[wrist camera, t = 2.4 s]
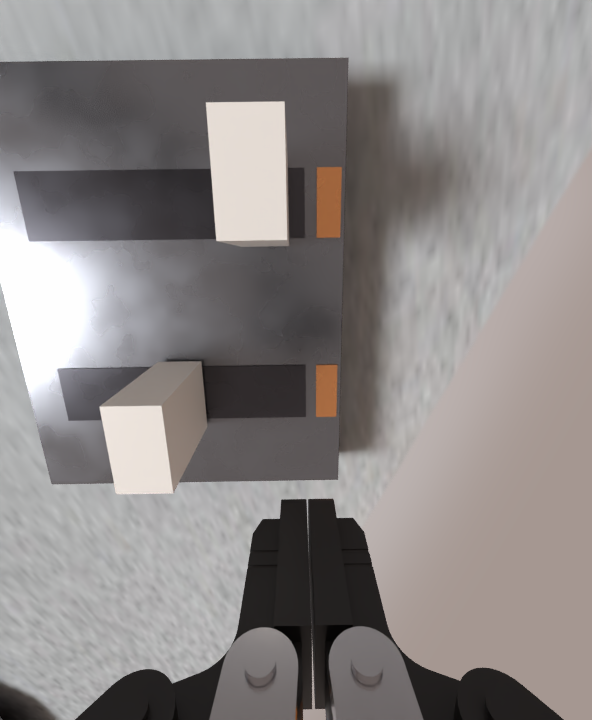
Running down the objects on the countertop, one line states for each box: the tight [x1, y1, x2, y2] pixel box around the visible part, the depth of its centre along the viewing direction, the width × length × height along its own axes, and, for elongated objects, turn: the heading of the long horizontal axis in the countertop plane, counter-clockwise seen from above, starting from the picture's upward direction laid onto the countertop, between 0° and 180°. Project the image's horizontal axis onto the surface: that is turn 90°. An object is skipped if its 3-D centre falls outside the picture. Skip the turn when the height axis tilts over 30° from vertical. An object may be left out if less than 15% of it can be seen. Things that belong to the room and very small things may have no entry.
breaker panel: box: [0, 58, 348, 484], centre depth 20 cm, size 18×22×3 cm
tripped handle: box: [100, 361, 207, 494], centre depth 17 cm, size 2×4×6 cm, turn 1°
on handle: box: [206, 101, 289, 247], centre depth 14 cm, size 2×4×6 cm, turn 1°
